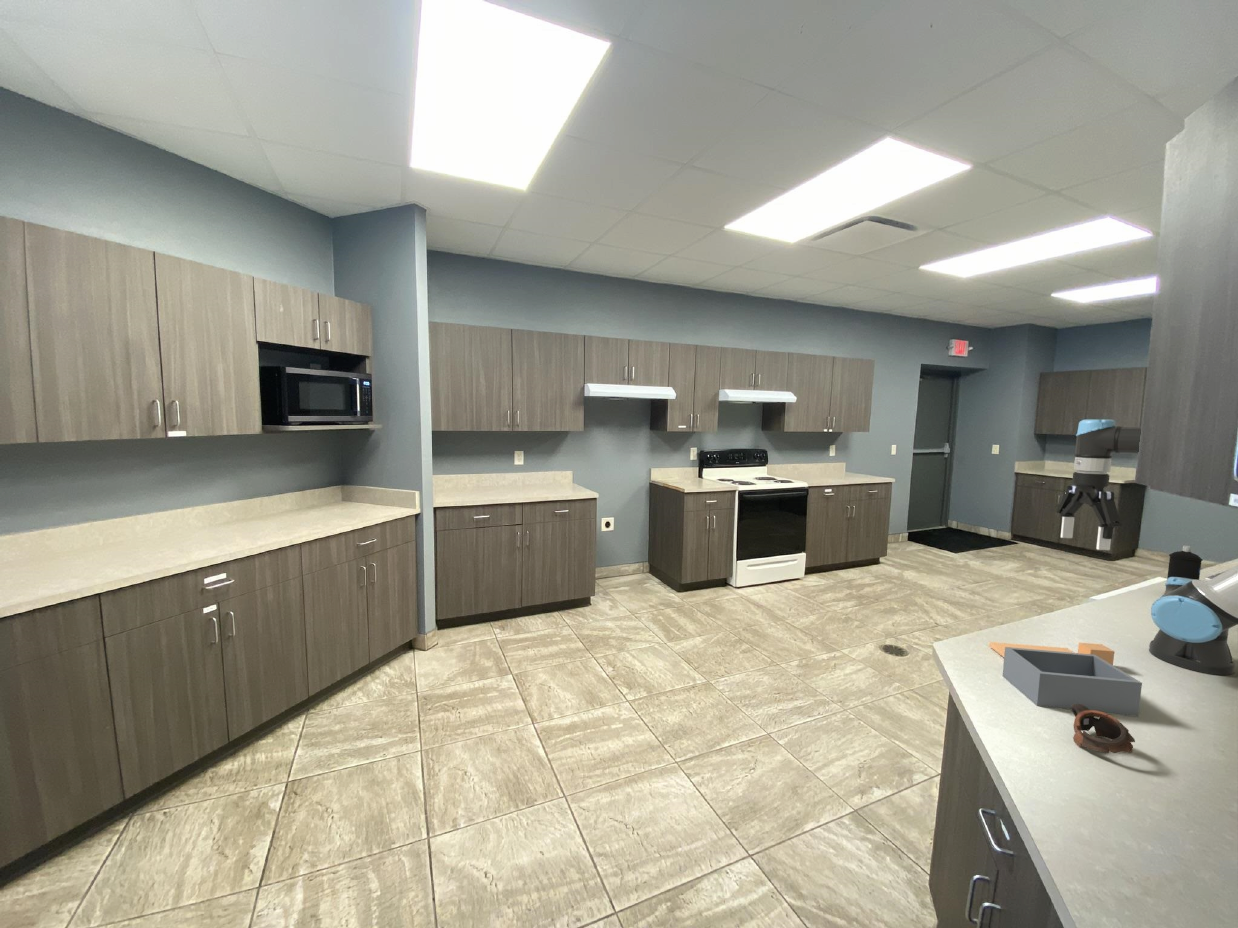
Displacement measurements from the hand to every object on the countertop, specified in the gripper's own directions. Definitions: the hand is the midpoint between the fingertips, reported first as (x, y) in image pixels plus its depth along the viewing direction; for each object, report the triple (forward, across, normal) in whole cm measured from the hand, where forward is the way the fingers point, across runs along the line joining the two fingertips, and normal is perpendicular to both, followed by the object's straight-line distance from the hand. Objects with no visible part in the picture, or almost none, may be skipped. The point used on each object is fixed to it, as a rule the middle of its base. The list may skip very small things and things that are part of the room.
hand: (1083, 543), depth 138 cm
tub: (+31, +32, -23) cm, 50 cm away
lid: (+31, +15, -15) cm, 37 cm away
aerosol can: (+31, -52, +70) cm, 93 cm away
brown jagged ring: (+31, +51, -30) cm, 67 cm away
